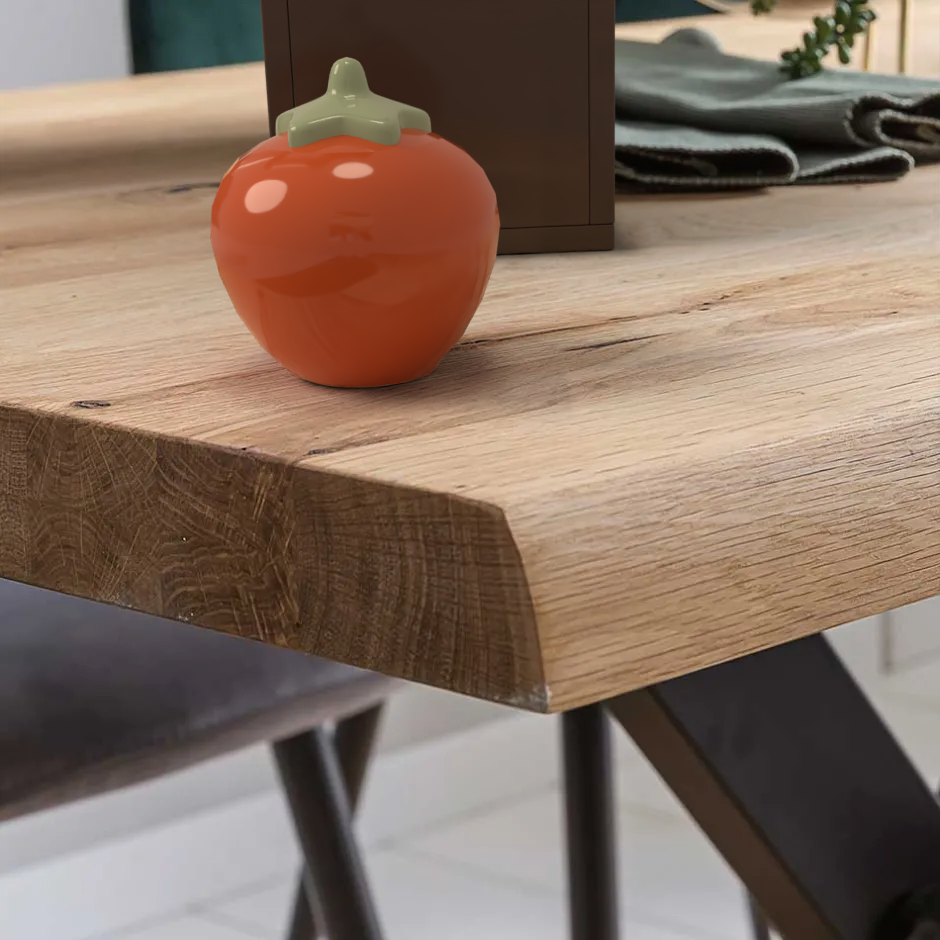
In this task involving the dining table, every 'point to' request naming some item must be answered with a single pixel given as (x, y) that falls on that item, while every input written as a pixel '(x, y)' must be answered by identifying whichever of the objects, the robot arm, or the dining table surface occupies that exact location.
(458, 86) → the cabinet
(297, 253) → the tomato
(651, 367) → the dining table surface
